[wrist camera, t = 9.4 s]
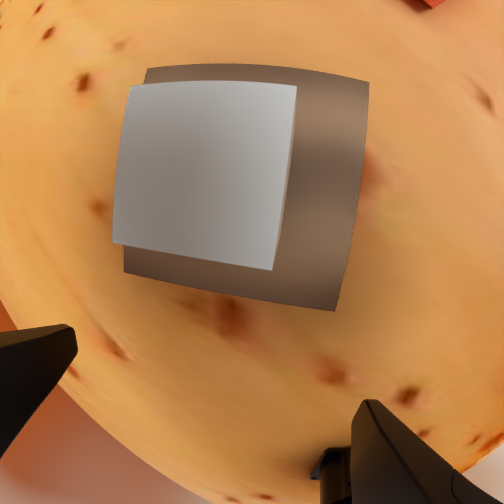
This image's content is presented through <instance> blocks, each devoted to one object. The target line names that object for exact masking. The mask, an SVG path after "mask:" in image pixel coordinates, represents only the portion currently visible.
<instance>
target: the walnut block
mask: <svg viewBox="0 0 504 504" xmlns="http://www.w3.org/2000/svg"><path fill="white" fill-rule="evenodd" d="M181 81H247V82H262V83H274V84H283V85H292V86H297V96H296V114H295V131H294V140H293V148H292V155H291V163H290V171H289V178H288V185H287V192H286V200H285V207H284V213H283V220H282V227H281V234H280V238H279V243H278V247H277V251H276V256H275V260H274V264H273V268H272V271H271V270H265V269H259V268H253V267H247V266H241V265H235V264H229V263H223V262H217V261H211V260H205V259H199V258H194V257H188V256H182V255H177V254H171V253H165V252H160V251H154V250H149V249H143V248H138V247H132V246H127V245H124V272H125V273H129V274H133V275H138V276H142V277H146V278H151V279H155V280H160V281H164V282H169V283H174V284H178V285H183V286H188V287H193V288H198V289H203V290H208V291H213V292H218V293H223V294H229V295H234V296H239V297H245V298H251V299H256V300H262V301H268V302H274V303H280V304H286V305H293V306H299V307H306V308H312V309H319V310H326V311H334V312H335V309H336V305H337V301H338V297H339V293H340V289H341V285H342V281H343V277H344V272H345V268H346V263H347V258H348V254H349V249H350V244H351V239H352V233H353V228H354V222H355V217H356V211H357V204H358V198H359V191H360V184H361V177H362V169H363V161H364V152H365V142H366V131H367V118H368V101H369V82H366V81H362V80H358V79H353V78H349V77H344V76H340V75H335V74H329V73H324V72H318V71H312V70H305V69H298V68H289V67H280V66H269V65H254V64H191V65H176V66H165V67H156V68H148V69H147V71H146V75H145V80H144V84H154V83H165V82H181ZM144 84H143V85H144Z"/></svg>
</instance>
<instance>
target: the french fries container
mask: <svg viewBox="0 0 504 504" xmlns="http://www.w3.org/2000/svg"><path fill="white" fill-rule="evenodd" d="M423 1H424V2H425V3H427V4H428V5H429V6H430V7H431V8H432V9H433V8H434V7H436V6H437V5H439V4H441V3H442V2H444V1H446V0H423Z"/></svg>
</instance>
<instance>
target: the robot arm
mask: <svg viewBox="0 0 504 504" xmlns="http://www.w3.org/2000/svg"><path fill="white" fill-rule="evenodd" d="M77 352H78V346H77V341H76V335H75V331H74V329H73V328H72V327H70V326H68V325H66V324H59V325H52V326H45V327H38V328H30V329H22V330H15V331H7V332H0V459H1V457H2V456H3V454H4V453H5V452H6V450H7V448H8V447H9V446H10V445H11V443H12V442H13V440H14V439H15V438H16V436H17V435H18V434H19V432H20V431H21V429H22V428H23V427H24V425H25V424H26V423H27V421H28V420H29V419H30V418H31V416H32V415H33V413H34V412H35V411H36V409H38V407H39V406H40V404H41V403H42V402H43V401H44V400H45V398H46V397H47V396H48V395H49V394H50V392H51V391H52V390H53V389H54V387H55V386H56V385H57V383H58V382H59V380H60V379H61V377H62V376H63V374H64V373H65V371H66V370H67V368H68V367H69V365H70V364H71V362H72V361H73V359H74V358H75V357H76V355H77ZM310 479H311V480H320V504H503V503H501V502H500V501H498V500H497V499H495V498H493V497H492V496H490V495H488V494H487V493H486V492H484V491H483V490H481V489H480V488H478V487H477V486H475V485H474V484H473V483H472V482H470V481H469V480H468V479H466V478H465V477H464V476H463V475H462V474H460V473H459V472H458V471H457V470H456V469H453V467H452V466H451V465H450V464H449V463H448V462H446V461H445V460H444V459H443V458H442V457H441V456H440V455H438V454H437V453H436V452H435V451H434V450H433V449H432V448H430V447H429V446H428V445H427V444H426V443H425V442H424V441H423V440H421V439H420V438H419V437H418V436H417V435H416V434H415V433H414V432H412V431H411V430H410V429H409V428H408V427H407V426H406V425H405V424H404V423H403V422H401V421H400V420H399V419H398V418H397V417H396V416H395V415H394V414H393V413H392V412H390V411H389V410H388V409H387V408H386V407H385V406H384V405H383V404H382V403H381V402H380V401H378V400H375V399H365V400H363V401H362V403H361V404H360V406H359V408H358V410H357V412H356V414H355V416H354V418H353V420H352V425H351V449H327V450H326V451H325V452H324V454H323V456H322V457H321V459H320V461H319V462H318V464H317V465H316V467H315V469H314V470H313V472H312V473H311V475H310Z"/></svg>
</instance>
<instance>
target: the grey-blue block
mask: <svg viewBox="0 0 504 504" xmlns="http://www.w3.org/2000/svg"><path fill="white" fill-rule="evenodd" d="M296 96H297V86H292V85H283V84H274V83H262V82H247V81H181V82H165V83H154V84H144V85H136V86H131V87H130V91H129V96H128V100H127V105H126V110H125V115H124V121H123V126H122V132H121V139H120V146H119V153H118V161H117V170H116V179H115V191H114V205H113V228H112V243H116V244H121V245H127V246H132V247H138V248H143V249H149V250H154V251H160V252H165V253H171V254H177V255H182V256H188V257H194V258H199V259H205V260H211V261H217V262H223V263H229V264H235V265H241V266H247V267H253V268H259V269H265V270H271V271H272V268H273V264H274V260H275V256H276V251H277V247H278V243H279V238H280V234H281V227H282V220H283V213H284V207H285V200H286V192H287V185H288V178H289V171H290V163H291V155H292V148H293V140H294V131H295V114H296Z"/></svg>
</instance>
